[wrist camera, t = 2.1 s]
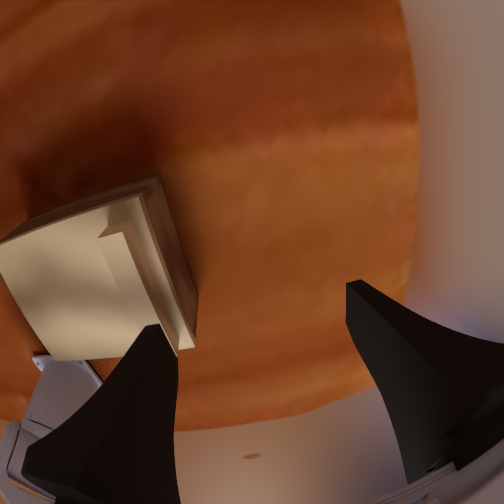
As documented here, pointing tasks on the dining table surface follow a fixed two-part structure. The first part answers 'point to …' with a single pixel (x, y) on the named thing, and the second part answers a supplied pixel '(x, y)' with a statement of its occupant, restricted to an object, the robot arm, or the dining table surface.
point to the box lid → (94, 282)
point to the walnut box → (161, 225)
